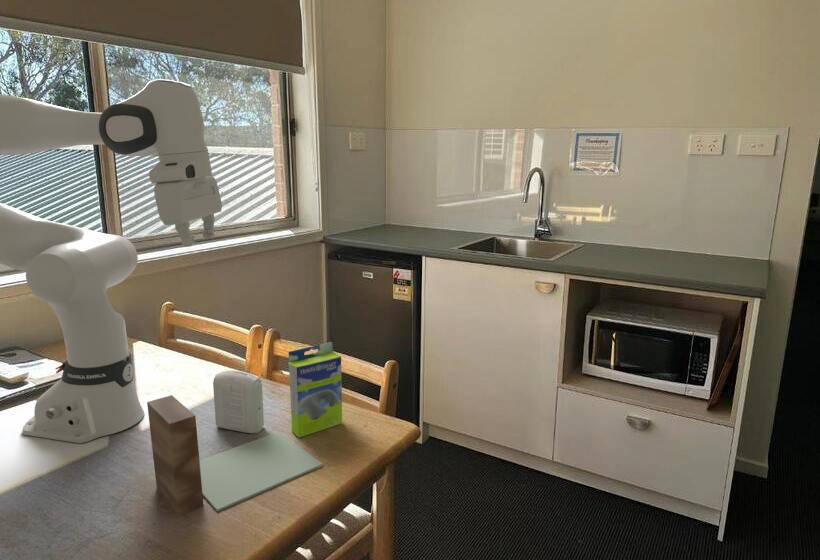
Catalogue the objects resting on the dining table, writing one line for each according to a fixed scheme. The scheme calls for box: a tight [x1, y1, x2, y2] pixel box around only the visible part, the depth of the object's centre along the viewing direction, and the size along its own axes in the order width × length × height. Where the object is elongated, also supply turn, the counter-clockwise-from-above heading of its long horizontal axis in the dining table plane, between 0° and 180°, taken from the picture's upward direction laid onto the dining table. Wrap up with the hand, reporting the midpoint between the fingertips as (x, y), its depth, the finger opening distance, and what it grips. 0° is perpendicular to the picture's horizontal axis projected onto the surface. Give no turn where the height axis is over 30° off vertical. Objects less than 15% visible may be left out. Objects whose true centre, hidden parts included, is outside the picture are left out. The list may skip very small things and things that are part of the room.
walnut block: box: [146, 394, 204, 517], centre depth 92 cm, size 4×10×16 cm, turn 42°
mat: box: [199, 431, 323, 513], centre depth 102 cm, size 20×16×1 cm
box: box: [287, 341, 343, 438], centre depth 116 cm, size 10×4×17 cm, turn 128°
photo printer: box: [212, 370, 265, 434], centre depth 116 cm, size 10×4×12 cm, turn 72°
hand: (199, 241), depth 109 cm, fingers open, 8 cm apart
